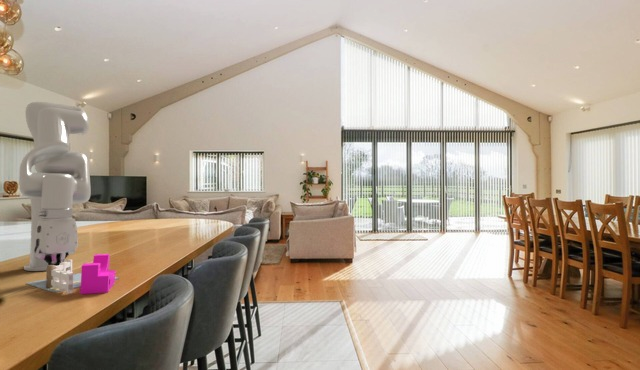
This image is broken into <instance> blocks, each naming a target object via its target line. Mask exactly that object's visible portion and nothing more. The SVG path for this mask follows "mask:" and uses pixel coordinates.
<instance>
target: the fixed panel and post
mask: <svg viewBox="0 0 640 370" xmlns="http://www.w3.org/2000/svg"><path fill="white" fill-rule="evenodd" d="M66 272H67V271H65V270H64V271H60V269H55V265H48V266H47V270H46V277H45V278H46V288H47V289H50V288H52V289H59V291H60V292H64V291H65V294H72V293H74V289H73V274H74V272H73V271H72V272H70V273H66Z"/></svg>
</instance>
